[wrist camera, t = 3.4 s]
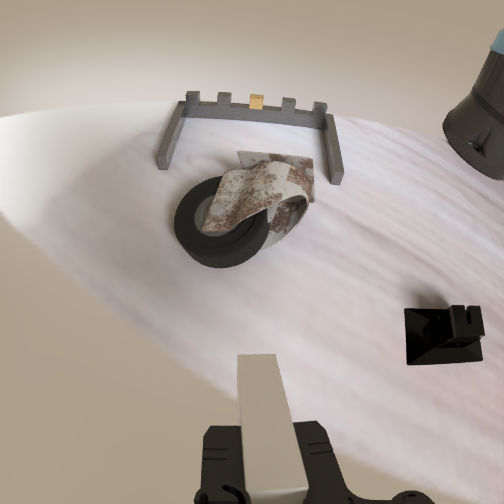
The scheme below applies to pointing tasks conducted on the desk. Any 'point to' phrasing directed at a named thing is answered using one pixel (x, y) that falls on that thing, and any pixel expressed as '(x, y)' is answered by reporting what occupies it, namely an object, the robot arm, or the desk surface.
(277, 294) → the desk surface
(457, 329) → the black mounting bracket
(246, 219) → the caster wheel
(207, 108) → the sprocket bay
